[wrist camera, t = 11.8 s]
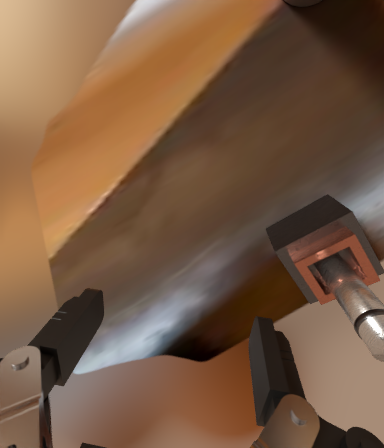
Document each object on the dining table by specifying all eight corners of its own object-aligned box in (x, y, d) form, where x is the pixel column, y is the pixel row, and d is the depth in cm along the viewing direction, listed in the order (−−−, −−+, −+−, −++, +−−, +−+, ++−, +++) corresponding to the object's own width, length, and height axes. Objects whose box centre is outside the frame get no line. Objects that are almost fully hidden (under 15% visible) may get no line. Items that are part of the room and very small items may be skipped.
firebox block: (327, 194, 38) (362, 218, 29) (356, 245, 41) (396, 283, 32) (265, 228, 42) (278, 260, 32) (296, 274, 45) (316, 315, 35)
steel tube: (335, 246, 33) (408, 326, 20) (347, 265, 34) (423, 353, 21) (309, 259, 34) (362, 342, 22) (321, 277, 35) (379, 367, 23)
